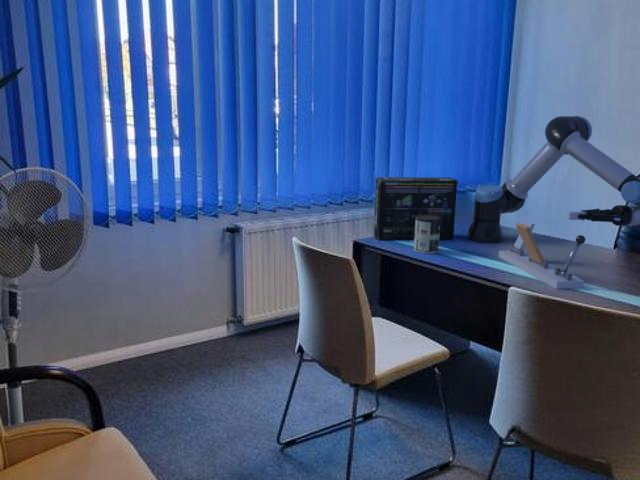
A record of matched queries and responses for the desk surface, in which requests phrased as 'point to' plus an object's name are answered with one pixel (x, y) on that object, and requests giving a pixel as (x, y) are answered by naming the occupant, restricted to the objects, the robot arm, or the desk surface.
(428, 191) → the router box
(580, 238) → the grey metal toggle
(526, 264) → the switch panel
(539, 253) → the brown paddle
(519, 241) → the pale blue paddle
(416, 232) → the coffee can
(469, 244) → the desk surface
